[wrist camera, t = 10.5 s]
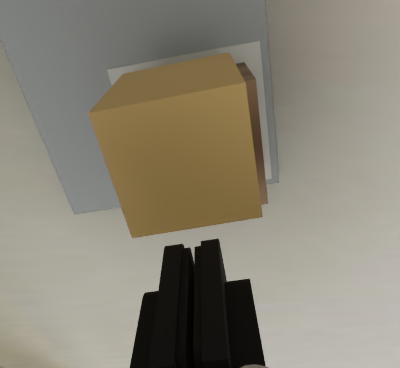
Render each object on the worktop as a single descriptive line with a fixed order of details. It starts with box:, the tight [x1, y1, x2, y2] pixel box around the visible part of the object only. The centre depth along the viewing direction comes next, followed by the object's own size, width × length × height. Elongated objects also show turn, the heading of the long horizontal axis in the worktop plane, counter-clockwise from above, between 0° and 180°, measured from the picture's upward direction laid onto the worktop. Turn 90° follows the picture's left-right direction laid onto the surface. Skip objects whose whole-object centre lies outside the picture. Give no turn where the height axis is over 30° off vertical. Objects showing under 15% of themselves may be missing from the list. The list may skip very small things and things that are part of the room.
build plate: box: [0, 0, 279, 214], centre depth 21 cm, size 18×15×1 cm
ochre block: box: [88, 52, 262, 238], centre depth 15 cm, size 5×5×6 cm
